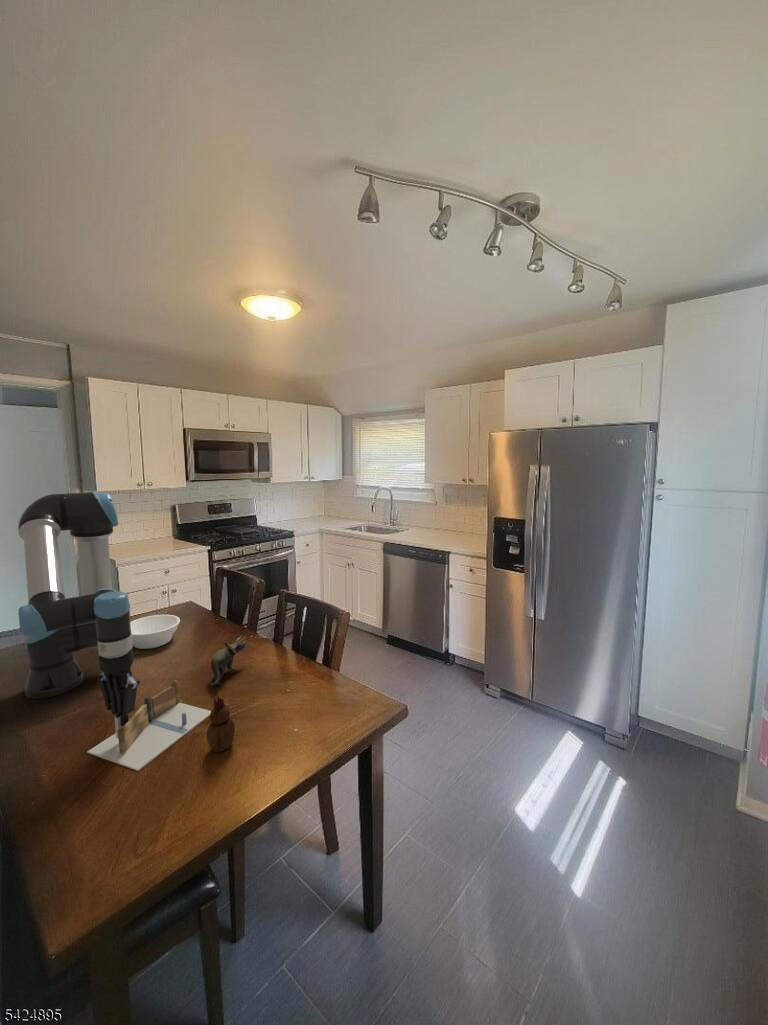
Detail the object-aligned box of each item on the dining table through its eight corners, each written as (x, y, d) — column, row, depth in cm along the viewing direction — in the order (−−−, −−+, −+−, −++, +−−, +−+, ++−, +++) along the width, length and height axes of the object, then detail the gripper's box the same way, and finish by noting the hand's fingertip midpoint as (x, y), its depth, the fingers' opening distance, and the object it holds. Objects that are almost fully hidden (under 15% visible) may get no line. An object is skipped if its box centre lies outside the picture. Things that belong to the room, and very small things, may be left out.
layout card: (87, 753, 108) (86, 740, 108) (167, 700, 131) (167, 690, 131) (138, 771, 102) (137, 758, 101) (213, 712, 125) (212, 702, 125)
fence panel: (144, 722, 119) (142, 703, 118) (149, 722, 119) (147, 702, 118) (118, 753, 107) (116, 731, 106) (124, 753, 107) (122, 731, 106)
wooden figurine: (217, 759, 106) (214, 703, 104) (203, 750, 109) (200, 696, 107) (239, 743, 112) (237, 691, 110) (225, 736, 115) (222, 684, 113)
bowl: (164, 655, 162) (163, 634, 161) (110, 654, 162) (109, 634, 161) (190, 632, 183) (189, 614, 182) (142, 632, 183) (141, 614, 182)
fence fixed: (144, 723, 120) (142, 698, 119) (176, 702, 131) (175, 679, 130) (149, 724, 120) (147, 700, 119) (180, 703, 130) (178, 680, 129)
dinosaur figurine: (213, 696, 134) (211, 663, 132) (190, 693, 135) (188, 660, 134) (249, 663, 155) (247, 634, 153) (228, 661, 157) (226, 632, 155)
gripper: (84, 654, 107) (92, 738, 111) (119, 663, 103) (126, 750, 106) (112, 642, 114) (118, 721, 118) (146, 650, 110) (152, 732, 113)
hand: (122, 735), depth 112 cm, fingers closed
